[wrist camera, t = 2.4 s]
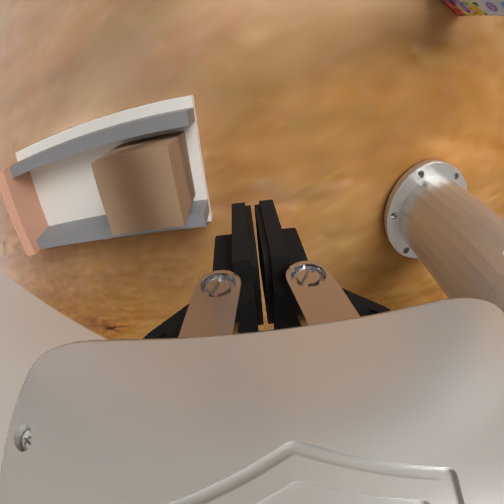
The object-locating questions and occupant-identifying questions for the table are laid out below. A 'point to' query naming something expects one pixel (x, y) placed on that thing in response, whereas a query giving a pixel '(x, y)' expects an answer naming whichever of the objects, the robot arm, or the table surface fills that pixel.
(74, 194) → the chute
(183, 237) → the table surface
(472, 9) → the snack box
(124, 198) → the walnut block
